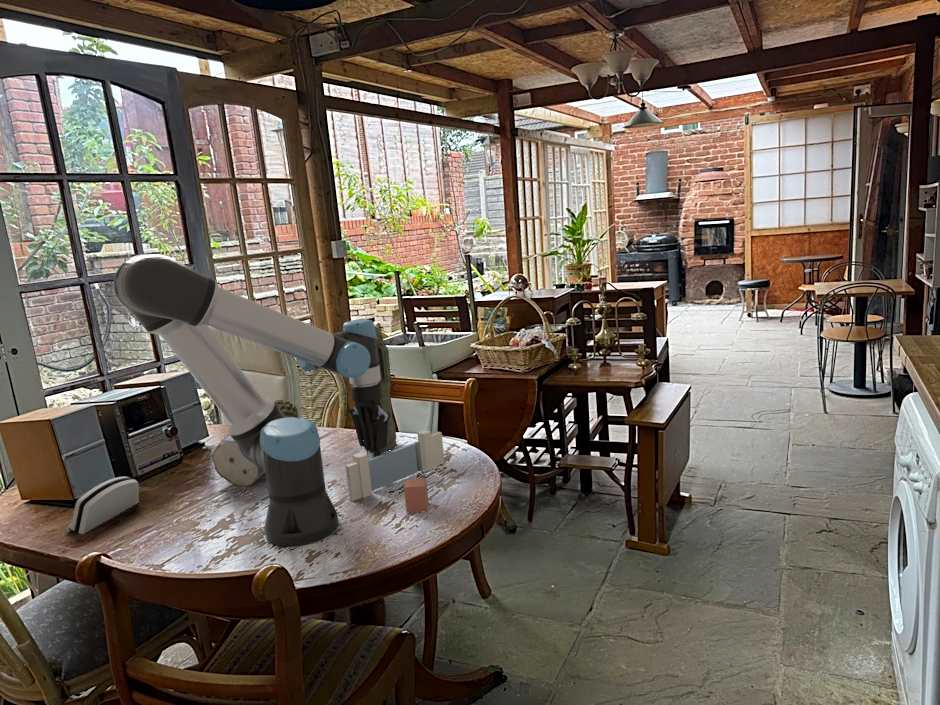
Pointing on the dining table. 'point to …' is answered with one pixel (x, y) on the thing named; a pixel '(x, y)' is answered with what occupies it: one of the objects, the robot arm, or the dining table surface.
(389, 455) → the door
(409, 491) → the reddish brown block
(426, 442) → the doorframe
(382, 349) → the thermos
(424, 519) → the dining table surface
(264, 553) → the dining table surface
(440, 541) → the dining table surface
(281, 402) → the potted plant
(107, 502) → the white napkin holder
